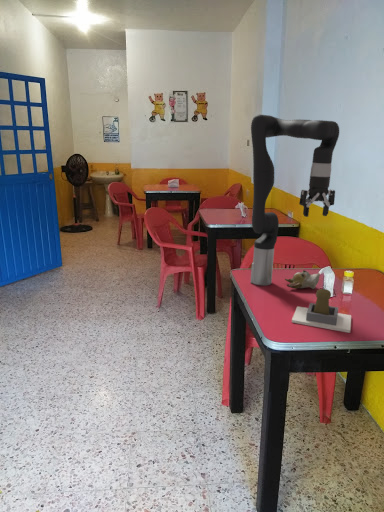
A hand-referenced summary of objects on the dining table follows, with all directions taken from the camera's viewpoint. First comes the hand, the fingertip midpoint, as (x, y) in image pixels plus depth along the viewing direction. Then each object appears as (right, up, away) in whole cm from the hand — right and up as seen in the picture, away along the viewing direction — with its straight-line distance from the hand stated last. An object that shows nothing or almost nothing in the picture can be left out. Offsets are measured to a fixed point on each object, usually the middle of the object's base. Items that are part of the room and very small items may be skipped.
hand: (315, 216), depth 158 cm
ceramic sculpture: (+1, -31, +23) cm, 39 cm away
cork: (-2, -39, -12) cm, 41 cm away
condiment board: (-1, -40, -11) cm, 41 cm away
